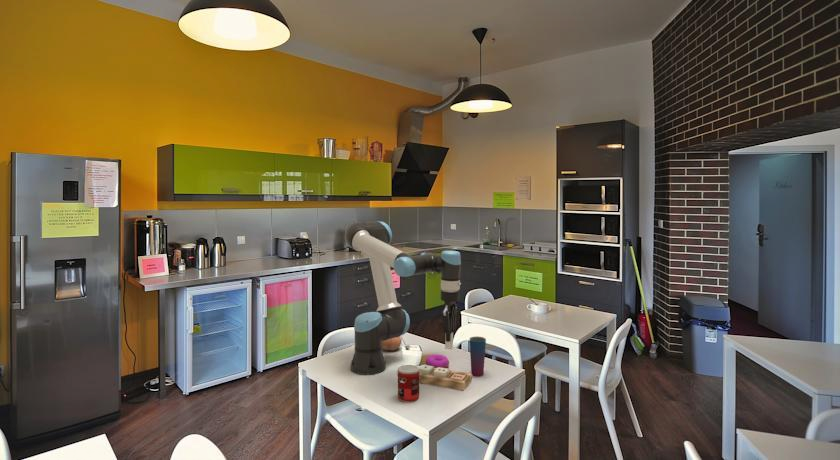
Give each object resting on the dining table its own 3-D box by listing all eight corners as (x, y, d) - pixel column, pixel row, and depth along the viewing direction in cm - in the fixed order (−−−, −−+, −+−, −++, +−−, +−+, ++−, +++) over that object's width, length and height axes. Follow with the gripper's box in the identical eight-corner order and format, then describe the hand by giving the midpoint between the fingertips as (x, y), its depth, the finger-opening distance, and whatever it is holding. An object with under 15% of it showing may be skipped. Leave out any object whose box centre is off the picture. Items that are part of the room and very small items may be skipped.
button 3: (449, 383, 176) (449, 377, 176) (454, 378, 180) (454, 372, 180) (462, 385, 174) (462, 379, 174) (466, 380, 178) (466, 374, 178)
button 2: (433, 376, 179) (433, 370, 178) (438, 372, 183) (438, 366, 183) (445, 378, 176) (445, 372, 176) (449, 374, 181) (449, 368, 181)
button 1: (417, 373, 181) (417, 368, 181) (422, 369, 186) (422, 364, 186) (428, 375, 179) (428, 370, 179) (433, 371, 184) (433, 365, 184)
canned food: (397, 393, 168) (397, 364, 168) (418, 392, 169) (418, 364, 168) (398, 402, 161) (397, 372, 160) (420, 401, 161) (420, 372, 161)
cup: (485, 377, 183) (485, 341, 182) (468, 376, 185) (468, 340, 184) (486, 371, 190) (486, 336, 189) (470, 370, 191) (470, 336, 190)
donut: (436, 373, 189) (436, 362, 189) (420, 366, 196) (420, 356, 196) (453, 366, 196) (453, 356, 195) (437, 360, 203) (437, 351, 203)
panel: (411, 381, 180) (411, 373, 180) (421, 372, 189) (421, 365, 189) (463, 390, 171) (463, 382, 171) (471, 381, 180) (471, 373, 180)
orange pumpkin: (401, 352, 213) (401, 336, 213) (378, 353, 213) (378, 336, 213) (401, 345, 224) (401, 330, 224) (380, 345, 224) (380, 330, 224)
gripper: (453, 294, 169) (452, 355, 171) (464, 288, 181) (462, 344, 183) (435, 292, 172) (434, 352, 174) (447, 286, 184) (445, 342, 186)
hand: (448, 348), depth 178 cm, fingers closed
